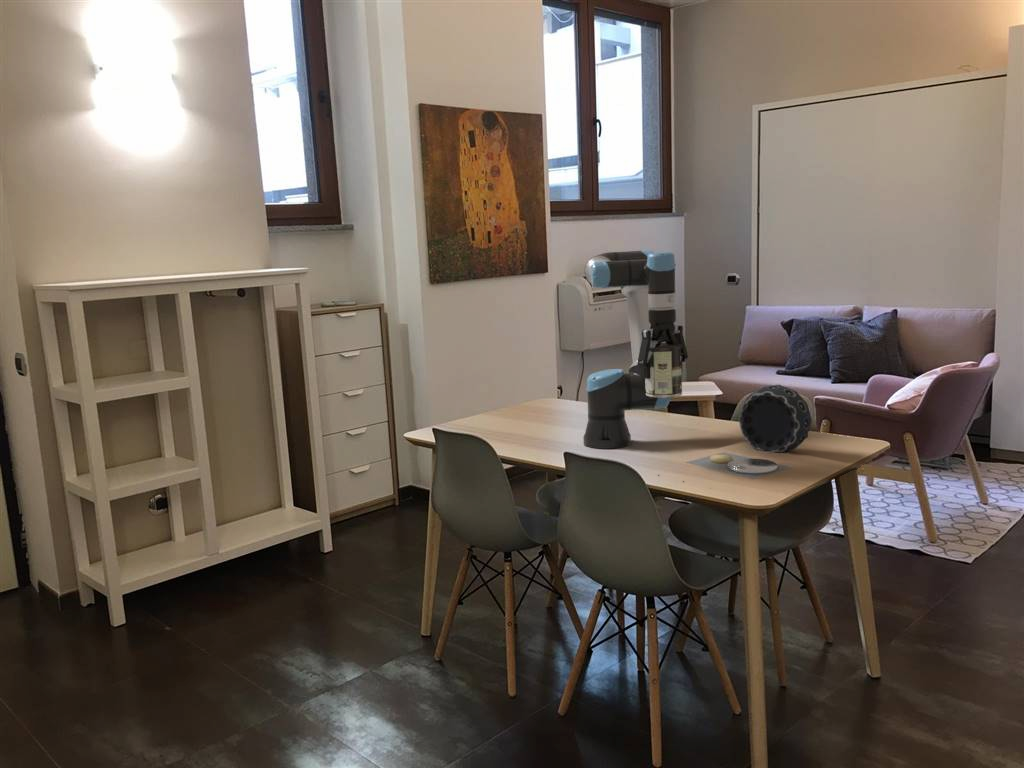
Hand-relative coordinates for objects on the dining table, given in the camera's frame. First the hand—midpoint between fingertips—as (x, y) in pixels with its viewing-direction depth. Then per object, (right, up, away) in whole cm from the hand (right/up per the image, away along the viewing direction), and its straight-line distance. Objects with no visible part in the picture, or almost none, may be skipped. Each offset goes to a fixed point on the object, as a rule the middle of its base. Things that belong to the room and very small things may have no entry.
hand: (663, 387), depth 248 cm
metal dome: (+22, -22, -10) cm, 33 cm away
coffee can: (0, -2, 0) cm, 2 cm away
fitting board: (+20, -23, -5) cm, 31 cm away
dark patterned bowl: (+35, -20, +11) cm, 41 cm away
